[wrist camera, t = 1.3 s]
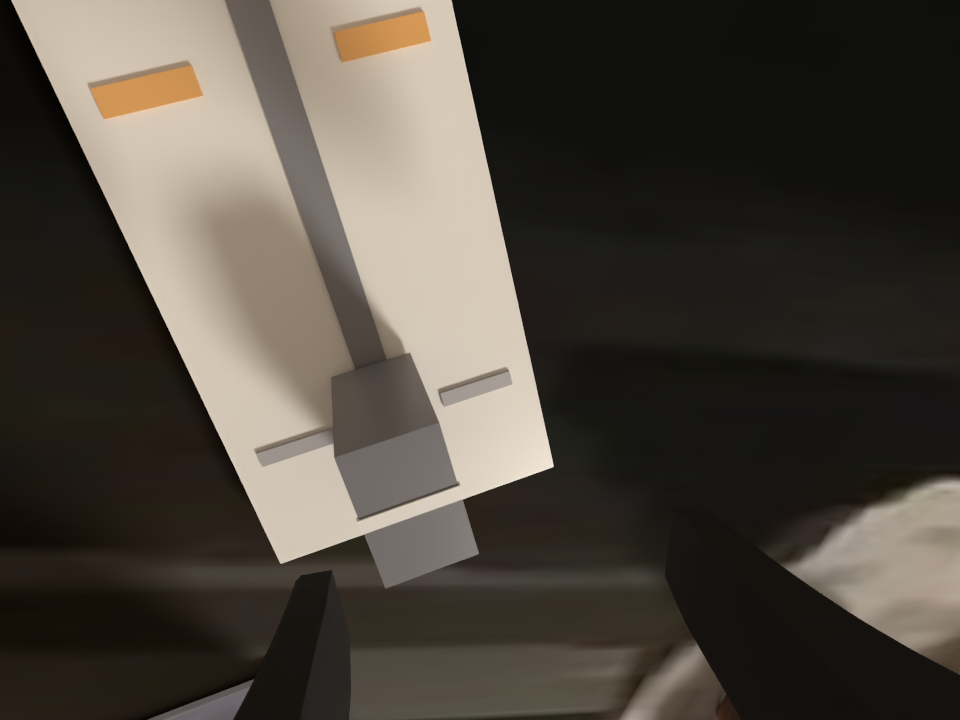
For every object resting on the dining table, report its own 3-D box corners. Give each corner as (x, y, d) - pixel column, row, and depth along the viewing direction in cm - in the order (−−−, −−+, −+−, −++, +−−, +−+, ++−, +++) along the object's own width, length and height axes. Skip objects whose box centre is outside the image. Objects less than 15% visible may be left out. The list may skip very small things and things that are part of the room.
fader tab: (369, 484, 20) (383, 590, 15) (329, 377, 18) (331, 459, 13) (444, 458, 20) (481, 554, 15) (411, 352, 18) (441, 423, 14)
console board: (284, 528, 22) (280, 566, 20) (-69, -238, 13) (-136, -302, 11) (535, 441, 23) (554, 468, 21) (364, -304, 15) (370, -372, 13)
